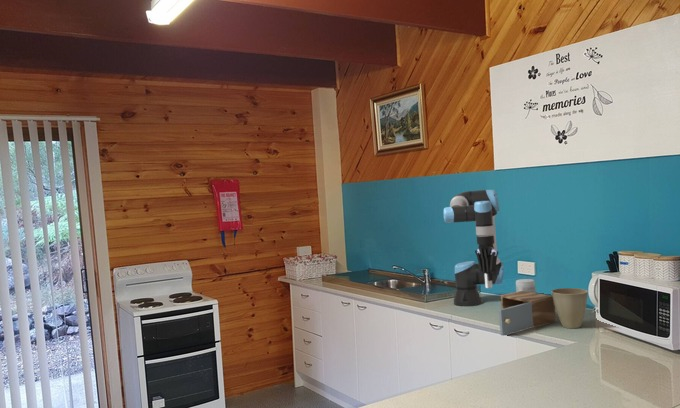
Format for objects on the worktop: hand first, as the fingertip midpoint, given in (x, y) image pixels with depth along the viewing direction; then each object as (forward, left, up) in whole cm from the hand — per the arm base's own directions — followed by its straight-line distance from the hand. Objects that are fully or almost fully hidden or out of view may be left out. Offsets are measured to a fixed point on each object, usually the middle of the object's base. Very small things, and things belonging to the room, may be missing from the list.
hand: (488, 287), depth 241 cm
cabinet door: (+9, +7, -19) cm, 22 cm away
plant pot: (+18, +30, -20) cm, 40 cm away
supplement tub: (-21, +43, -20) cm, 52 cm away
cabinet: (-2, +25, -20) cm, 32 cm away
